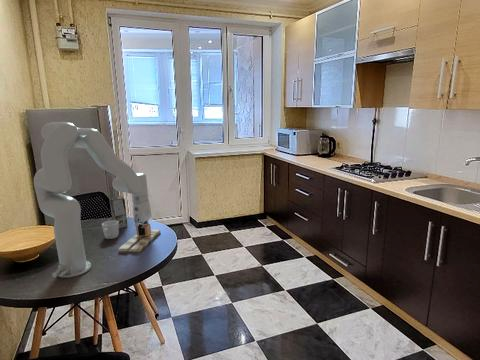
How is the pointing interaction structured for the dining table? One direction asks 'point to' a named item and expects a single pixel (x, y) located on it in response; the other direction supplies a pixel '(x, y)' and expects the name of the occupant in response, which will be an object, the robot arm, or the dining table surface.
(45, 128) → the robot arm
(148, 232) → the fader tab
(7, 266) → the dining table surface
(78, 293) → the dining table surface
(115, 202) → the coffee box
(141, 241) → the slider board
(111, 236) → the cup
